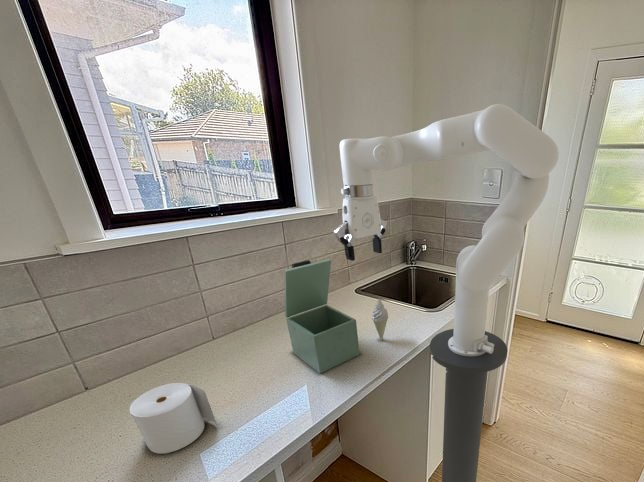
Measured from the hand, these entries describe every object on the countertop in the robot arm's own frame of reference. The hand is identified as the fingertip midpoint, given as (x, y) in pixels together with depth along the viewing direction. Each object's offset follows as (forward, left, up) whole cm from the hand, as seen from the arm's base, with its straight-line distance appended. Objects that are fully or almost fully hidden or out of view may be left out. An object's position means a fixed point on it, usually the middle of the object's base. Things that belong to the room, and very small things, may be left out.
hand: (364, 256), depth 95 cm
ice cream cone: (-2, -3, -28) cm, 29 cm away
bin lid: (+9, +14, -8) cm, 19 cm away
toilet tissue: (-1, +54, -28) cm, 61 cm away
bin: (+4, +14, -28) cm, 32 cm away
